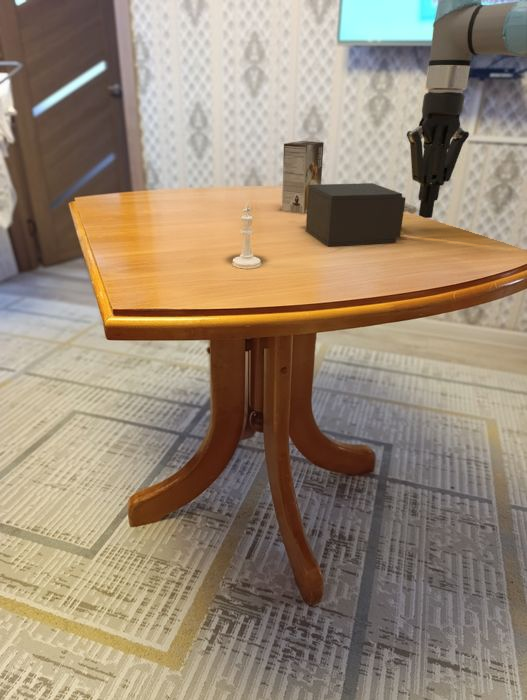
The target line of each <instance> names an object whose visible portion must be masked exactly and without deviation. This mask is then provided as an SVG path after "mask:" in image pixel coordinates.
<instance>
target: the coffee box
mask: <svg viewBox="0 0 527 700" xmlns="http://www.w3.org/2000/svg"><path fill="white" fill-rule="evenodd" d="M324 144H325V142H324V141H306V140H299V141H293V142H286V143H283V161H282V163H283V164H282V193H281V194H282V195H281V197H282V199H281V211H284V212H292V213H297V214H307V204H308V187H309V185H320V184H322V176H323V175H322V174H323V159H324V158H323V157H324V146H325V145H324Z"/></svg>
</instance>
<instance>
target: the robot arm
mask: <svg viewBox="0 0 527 700" xmlns="http://www.w3.org/2000/svg"><path fill="white" fill-rule="evenodd" d="M432 28H433V29H432V36H431V37H432V38H431V45H430V53H429V59H428V60H429V61H428V65H427V66H428V68H427V72H426V73H427V74H426V81H425V87H424V88H425V90H426V91H427V92H425V93H424V95H423V101H422V107H421V119H420V121H419V123H418V126H417V127H416V128H414V129H413V130H409V131H407V133H406V137H407V139H408V142H409V149H410V163H411V164H410V165H411V178H412V181H414V182H417V183H418V184H419V191H418V196H417V197H418V201H420V204H419V211H418V216H419V217H421V218H424V219H431V218H433V213H434V206H435V202H436V201H438V199H439V194H440V189H441V186H444V185H445V183H446V182H449V181H450V180H451V178H452V175H453V172H454V169H455V166H456V164H457V162H458V158H459V156H460V153H461V151H462V148H463V146H464V143H466V141H467V139H468V138H469V136H470V132H469V131H466V130H464V129H463V128H461V120H460V118H461V117H460V116H461V114H462V113H463V110H464V104H465V97H466V95H465V94H464V93H463V91H465V90H467V88H468V81H469V74H470V69H471V62H472V58H473V56H483V55H485V56H487V55H505V56H511V57H512V56H514V57H522V58H527V0H518V1H511V2H503V3H494V4H482V0H438V2H437V6H436V11H435V17H434V21H433V24H432ZM422 139H423V142H422Z"/></svg>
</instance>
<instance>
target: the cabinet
mask: <svg viewBox="0 0 527 700" xmlns="http://www.w3.org/2000/svg"><path fill="white" fill-rule="evenodd" d="M402 197H403V193H401V192H399V191H396V190H393V189H390V188H387V187H384V186H382V185H379V184H376V183H373V182H371V183H369V182H367V183H364V182H363V183H362V182H361V183H329V184H328V183H325V184H322V183H321V184H320V185H309V187H308V204H307V213H306V221H305V232H307V233H308V234H309V235H311V236H312V237H314V238H315V239H317V240H318V241H319V242H321V243H322V244H323V245H324V246H326V247H328V248H330V247H347V246H365V245H379V244H380V245H382V244H384V245H385V244H395V243H397V242H396V241H397V238H396V236H397V228H398V221H399V214H400V207H401V200H402Z"/></svg>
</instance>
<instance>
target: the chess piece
mask: <svg viewBox="0 0 527 700" xmlns="http://www.w3.org/2000/svg"><path fill="white" fill-rule="evenodd" d="M252 211H253V208H251V207H250V204H245V206H244V208H242V213H244V215H242V216H240V220H241V223H242V227H243V229H241V230H240V234H243V241H242V248H241V249H242V250H241V253H240V254H239V256H236V257H234V258H233V259H232V263H231V265H232V266H233V267H235V268H238V269H245V270H246V269H247V270H248V269H256V268H259V267H261V266H262V263H261V261H262V260H261V259H260V258H259V257H256V256H254V254H253V253H252V245H251V236H250V235H251V234H254V230H253V229H251V226H252V224H253V223H252V222H253V220H254V217H253V216H252V215H250V212H252Z"/></svg>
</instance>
